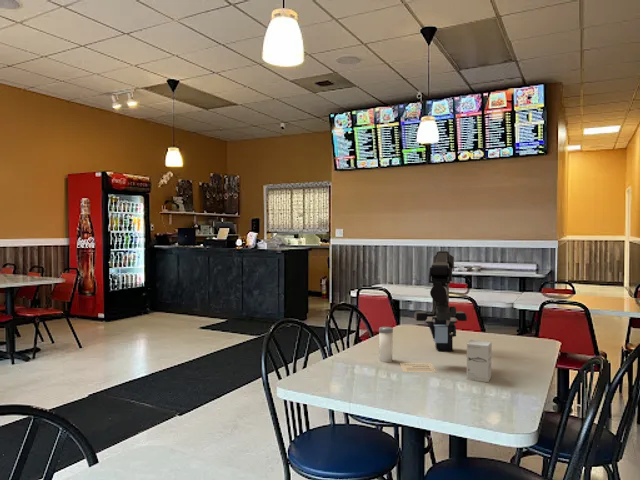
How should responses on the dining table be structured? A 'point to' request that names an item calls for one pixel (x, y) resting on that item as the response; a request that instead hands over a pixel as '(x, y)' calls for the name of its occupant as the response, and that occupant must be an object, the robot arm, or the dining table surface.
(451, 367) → the dining table surface
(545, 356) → the dining table surface
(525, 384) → the dining table surface
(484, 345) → the supplement box
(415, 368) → the letter card
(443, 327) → the blue block
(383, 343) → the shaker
